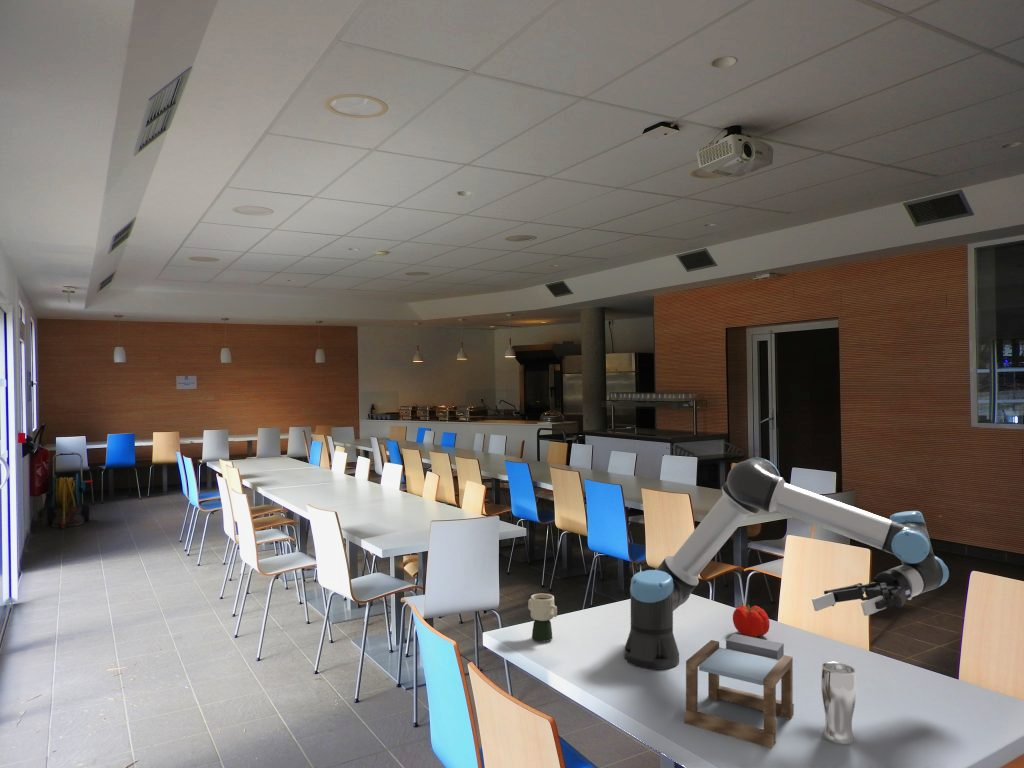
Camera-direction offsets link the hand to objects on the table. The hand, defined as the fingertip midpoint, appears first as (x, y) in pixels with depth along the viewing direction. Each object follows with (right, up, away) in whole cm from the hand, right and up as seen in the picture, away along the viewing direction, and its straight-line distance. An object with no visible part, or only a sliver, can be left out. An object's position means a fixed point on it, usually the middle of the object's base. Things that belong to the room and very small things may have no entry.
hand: (838, 607), depth 158 cm
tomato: (-1, -27, +55) cm, 61 cm away
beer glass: (-5, -25, -10) cm, 27 cm away
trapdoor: (-21, -15, +2) cm, 26 cm away
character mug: (-66, -26, +49) cm, 86 cm away
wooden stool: (-23, -25, -1) cm, 34 cm away
